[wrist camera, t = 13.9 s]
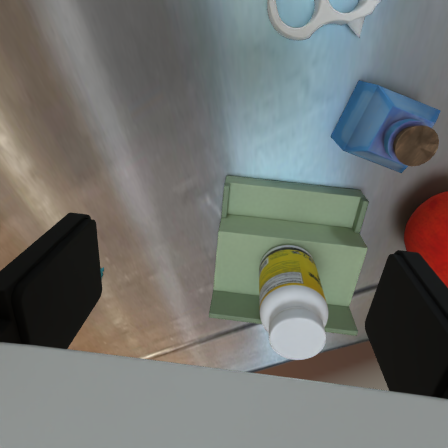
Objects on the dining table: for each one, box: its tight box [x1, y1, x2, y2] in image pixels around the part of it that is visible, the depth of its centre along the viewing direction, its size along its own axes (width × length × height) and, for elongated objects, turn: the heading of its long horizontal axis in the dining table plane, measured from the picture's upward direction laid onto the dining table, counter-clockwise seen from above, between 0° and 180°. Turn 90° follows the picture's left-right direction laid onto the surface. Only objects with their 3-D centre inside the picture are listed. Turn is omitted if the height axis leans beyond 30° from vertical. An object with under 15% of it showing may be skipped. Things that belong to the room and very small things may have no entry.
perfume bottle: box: [331, 81, 440, 173], centre depth 32 cm, size 6×6×12 cm
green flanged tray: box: [209, 176, 369, 336], centre depth 39 cm, size 13×16×11 cm
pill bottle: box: [259, 245, 328, 360], centre depth 33 cm, size 6×6×11 cm
